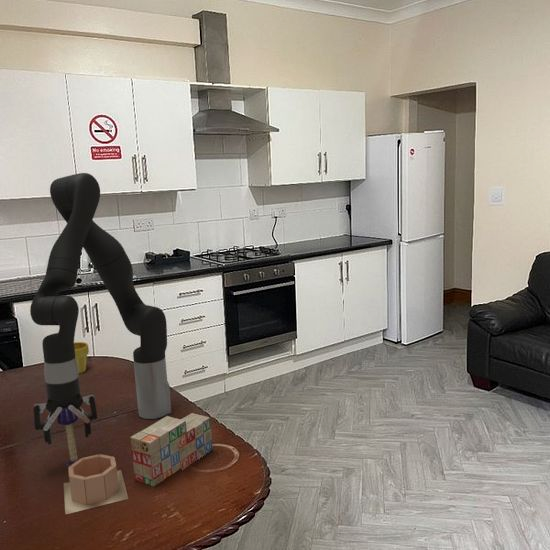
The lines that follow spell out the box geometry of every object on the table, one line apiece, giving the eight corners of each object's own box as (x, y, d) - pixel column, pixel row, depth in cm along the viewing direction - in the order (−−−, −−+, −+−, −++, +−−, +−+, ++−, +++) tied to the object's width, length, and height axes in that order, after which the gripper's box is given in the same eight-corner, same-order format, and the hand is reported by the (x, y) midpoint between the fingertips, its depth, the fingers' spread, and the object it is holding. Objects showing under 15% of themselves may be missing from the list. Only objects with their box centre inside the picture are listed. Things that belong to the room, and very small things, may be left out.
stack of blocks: (194, 445, 146) (191, 401, 144) (213, 450, 143) (210, 406, 141) (134, 485, 129) (129, 436, 126) (154, 492, 125) (149, 442, 123)
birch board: (121, 474, 133) (121, 469, 133) (128, 503, 121) (128, 498, 121) (64, 487, 128) (63, 483, 128) (66, 519, 117) (65, 514, 116)
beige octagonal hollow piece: (115, 474, 131) (112, 451, 130) (120, 496, 122) (117, 471, 121) (70, 484, 127) (67, 461, 126) (72, 508, 118) (69, 483, 117)
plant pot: (55, 376, 201) (52, 350, 199) (70, 366, 211) (67, 341, 209) (82, 376, 199) (79, 351, 197) (95, 366, 209) (93, 341, 207)
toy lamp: (77, 473, 134) (69, 409, 131) (59, 472, 135) (51, 408, 132) (87, 463, 139) (80, 401, 136) (70, 462, 140) (63, 400, 137)
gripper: (91, 367, 139) (97, 427, 142) (30, 376, 134) (37, 438, 137) (93, 377, 132) (100, 440, 135) (29, 387, 127) (36, 452, 130)
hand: (68, 439), depth 136 cm, fingers open, 8 cm apart
